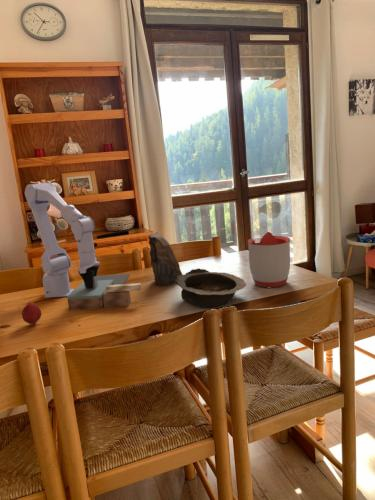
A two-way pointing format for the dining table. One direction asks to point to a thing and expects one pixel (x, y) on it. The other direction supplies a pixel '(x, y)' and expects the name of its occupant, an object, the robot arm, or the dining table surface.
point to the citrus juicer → (269, 260)
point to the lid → (90, 290)
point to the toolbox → (102, 301)
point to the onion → (31, 313)
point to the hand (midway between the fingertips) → (91, 286)
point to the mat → (115, 278)
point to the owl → (163, 261)
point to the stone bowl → (208, 287)
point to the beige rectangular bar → (123, 287)
